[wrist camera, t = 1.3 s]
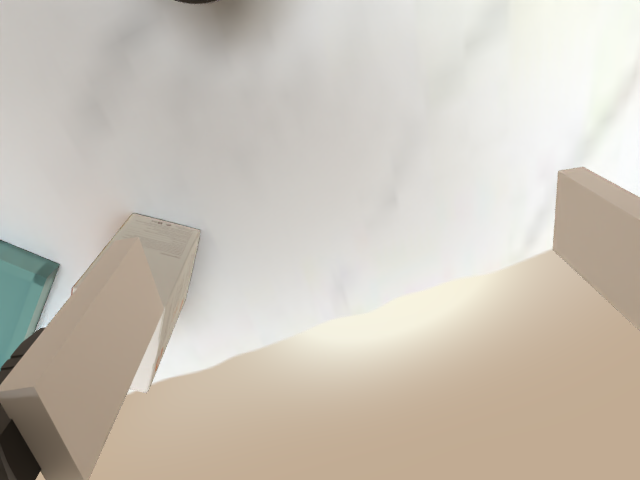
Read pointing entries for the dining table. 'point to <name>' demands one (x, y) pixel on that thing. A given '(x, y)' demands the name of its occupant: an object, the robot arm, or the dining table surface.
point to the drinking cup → (197, 1)
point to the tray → (21, 295)
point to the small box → (159, 280)
